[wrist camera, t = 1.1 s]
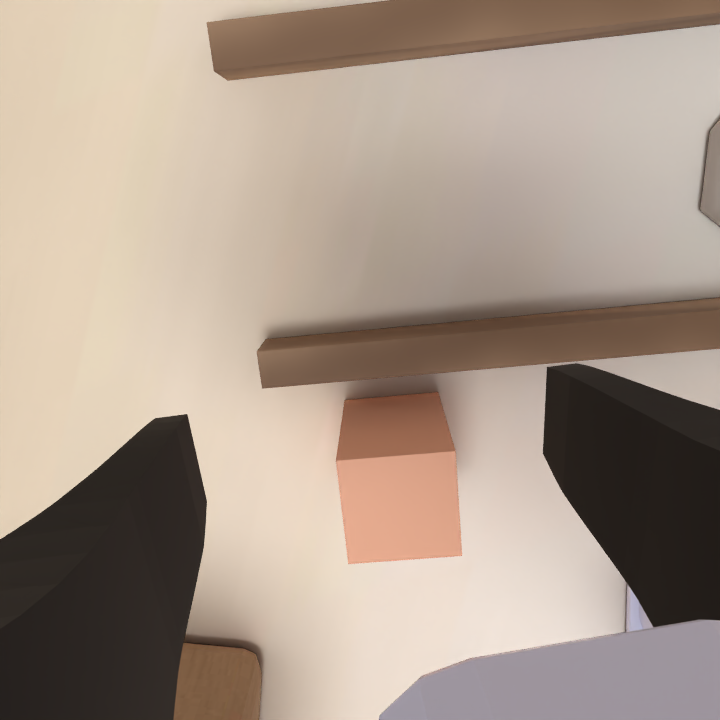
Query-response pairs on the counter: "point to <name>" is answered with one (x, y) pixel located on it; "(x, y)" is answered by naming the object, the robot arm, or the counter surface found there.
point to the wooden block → (217, 684)
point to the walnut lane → (439, 38)
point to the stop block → (398, 479)
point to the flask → (712, 177)
